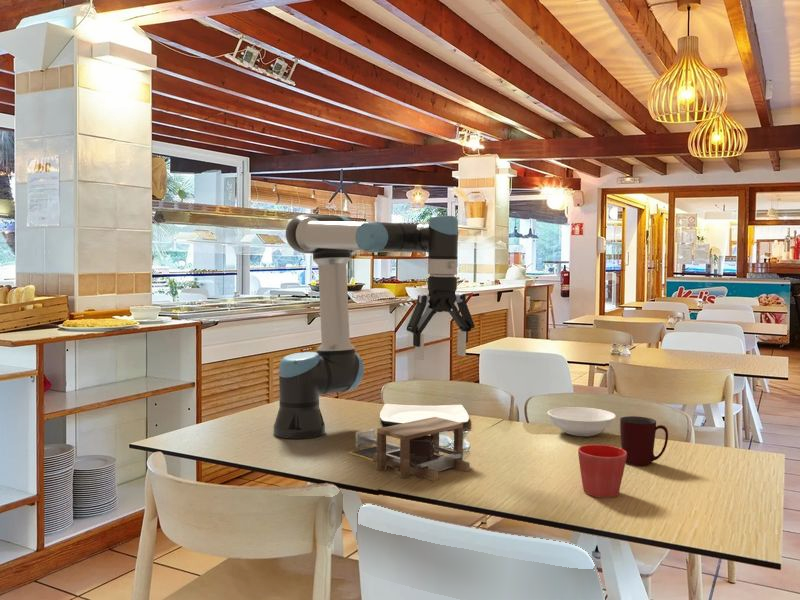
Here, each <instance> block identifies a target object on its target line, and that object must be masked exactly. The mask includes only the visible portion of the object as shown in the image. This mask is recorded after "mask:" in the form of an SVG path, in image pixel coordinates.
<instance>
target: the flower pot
mask: <svg viewBox="0 0 800 600" xmlns="http://www.w3.org/2000/svg"><path fill="white" fill-rule="evenodd" d="M577 452H578V453H577V454H578V462H579V463H578V464H579V472H580V477H581V484H582V490H583V492H584V493H585V494H586V495H589V496H593V497H596V498H602V499H605V498H607V499H608V498H614V497H617V496H618V495H619V493H620V491H621V490H620V489H621V485H622V480H623V478H624V477H623V476H624V472H625V467H626V466H625V465H626V457H627V452H626V451H625V450H623V449H621V447H617V446H614V445H606V444H585V445H581V446H579V447H578V449H577Z"/></svg>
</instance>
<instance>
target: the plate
mask: <svg viewBox="0 0 800 600" xmlns="http://www.w3.org/2000/svg"><path fill="white" fill-rule="evenodd" d="M432 417H438V418H442V419H447V420H451V421H455V422H459V423H463V426H465V425H466V424H468V422H469V420H470V416H469V414H468V412H467V410H466V408H465V407H464V406H463V404H444V405H443V404H441V405H412V404H411V405H410V404H407V405H406V404H395V403H385V404H384V405H383V407H382V408H381V410H380V412H379V419H380V420H381V422H382V423H383V424H385V425H388V426H393V425H397V424H402V423H407V422H412V421H417V420H422V419H427V418H432Z"/></svg>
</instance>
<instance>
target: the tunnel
mask: <svg viewBox="0 0 800 600" xmlns="http://www.w3.org/2000/svg"><path fill="white" fill-rule="evenodd" d="M452 430H453V450H455V451H458V452H462V453H463V454H464V452H463V451H464V445H463V444H464V443H463V442H464V425H463V423H459V422H455V421H451V420H447V419H442V418H438V417H432V418H427V419H422V420H417V421H412V422H407V423H402V424H397V425H388V426H384V427H378V428H377V429H376V434H377V435H376V439H377V445H376V446H377V453H374V454H373V462H374V463H376V470H377V471H386V470H387V467H390V468H393V469H396V470H399V478H403V479H407V478H410V474H412V475H416V476H418V477H422V478H425V479H428V480H431V481H433V482H434V481H435V482H436V481H439V471H435V470H431V469H428V468H425V467H422V468H419V469H417V468H414V467H410V439H413V438H417V437H422V436H426V435H430V436H434V445H436V446H440V433H443V432H447V431H452ZM387 437H392V438H395V439H397V440H398V439H399V440H400V441H399V442H400V443H399V444H400V445H399V446H400V463H398V462H394V461H391V460H388V459H386V442H387ZM442 456H445V455H443V454H441V453H440V452H439V451H436V450H434V458H438V457H442ZM463 457H464V456H463ZM463 457H460V458H456V459H454V467H452V468H451V469H456V470H460V471H462V472H469V471H471V469H470V462H469V461H465V460H463V459H464V458H463Z"/></svg>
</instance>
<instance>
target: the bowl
mask: <svg viewBox="0 0 800 600" xmlns="http://www.w3.org/2000/svg"><path fill="white" fill-rule="evenodd" d="M547 415H548V416H549V417H550V419H551V422H552V424H553V425H554V426H556V427H557V428H558V429H559V430H561V431H563V432H564V433H566V434H567V435H570V436H576V437H577V436H578V437H593V436H596V435H598V434H601V433H602V432H604V431H605V430H606V429H609V428H610V427H611V425H612V423H613V421H614V420H615V419H616V417H617V416H616V414H615V413H614V412H612V411H608V410H605V409H600V408H593V407H585V406H584V407H583V406H563V407H556V408H555V407H554V408H552V409H549V410H548V411H547Z"/></svg>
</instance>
